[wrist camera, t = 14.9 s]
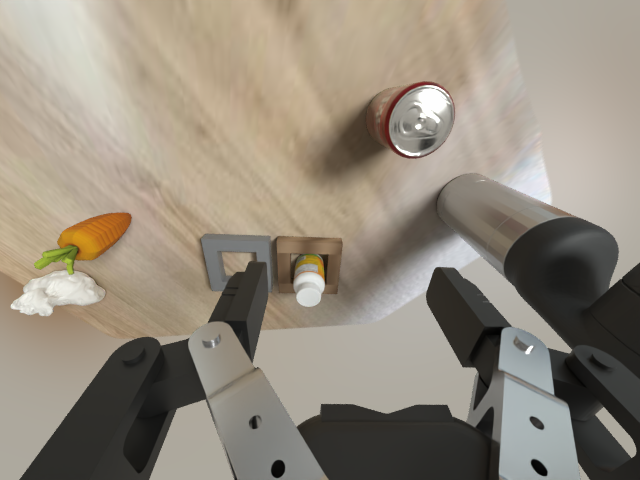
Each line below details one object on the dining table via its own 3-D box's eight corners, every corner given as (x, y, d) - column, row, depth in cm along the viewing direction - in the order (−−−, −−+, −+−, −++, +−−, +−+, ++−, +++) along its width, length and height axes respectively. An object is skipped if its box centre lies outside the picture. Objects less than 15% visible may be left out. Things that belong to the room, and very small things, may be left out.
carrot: (145, 207, 41) (67, 255, 28) (144, 231, 44) (71, 286, 31) (113, 197, 40) (17, 242, 27) (113, 222, 43) (25, 275, 30)
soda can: (357, 134, 37) (374, 147, 26) (377, 79, 33) (406, 68, 23) (400, 150, 38) (433, 168, 27) (424, 98, 34) (472, 97, 24)
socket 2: (341, 238, 45) (342, 243, 43) (336, 287, 51) (337, 294, 49) (278, 236, 45) (276, 241, 43) (280, 286, 50) (278, 292, 49)
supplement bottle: (321, 275, 49) (323, 311, 41) (294, 273, 49) (290, 309, 40) (325, 253, 47) (327, 286, 38) (297, 250, 46) (293, 283, 38)
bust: (120, 276, 51) (78, 277, 40) (107, 313, 50) (60, 325, 39) (56, 264, 49) (-7, 262, 38) (41, 302, 48) (-28, 311, 37)
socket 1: (270, 235, 45) (268, 241, 43) (273, 285, 50) (271, 292, 48) (205, 233, 44) (200, 239, 42) (215, 284, 50) (212, 291, 48)
